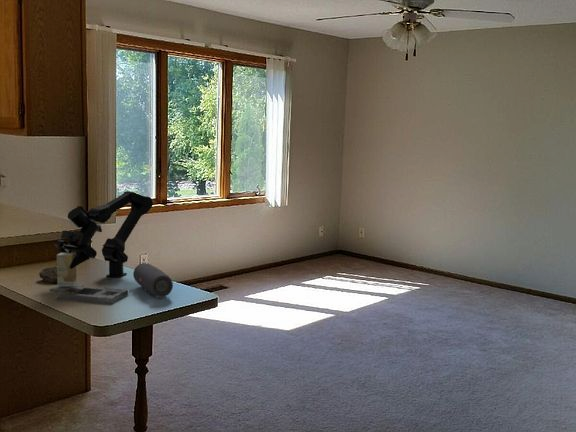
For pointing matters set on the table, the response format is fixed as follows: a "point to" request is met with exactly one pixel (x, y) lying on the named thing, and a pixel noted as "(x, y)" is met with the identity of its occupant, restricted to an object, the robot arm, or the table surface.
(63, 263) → the skincare box
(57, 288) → the pad
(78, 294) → the grey black flat block
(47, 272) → the concrete sample
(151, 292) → the bluetooth speaker
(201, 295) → the table surface
